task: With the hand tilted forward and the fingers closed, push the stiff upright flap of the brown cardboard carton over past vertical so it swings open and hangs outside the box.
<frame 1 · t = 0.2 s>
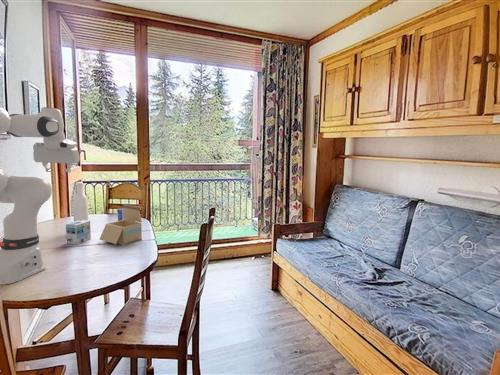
hand: (58, 172, 148), 39 cm above the table, tool pointing down, fingers open, 8 cm apart
light bulb box: (79, 241, 167), on the table
ink cartridge box: (126, 227, 199), on the table
flap: (131, 213, 175), point 14 cm above the table, hinge at 78.0°
carton: (124, 239, 173), on the table
bottle: (81, 231, 185), on the table
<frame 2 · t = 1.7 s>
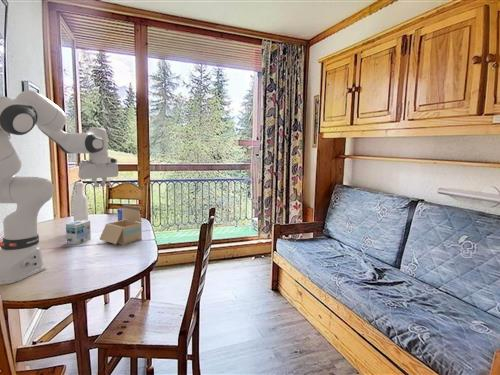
hand: (99, 186, 158), 31 cm above the table, tool pointing down, fingers closed
nothing on the table moved.
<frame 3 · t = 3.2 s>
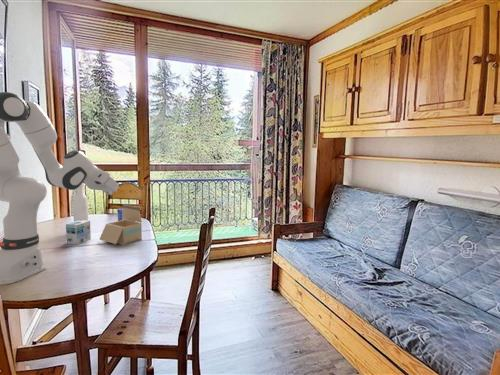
hand: (110, 193, 163), 27 cm above the table, tool tilted 45°, fingers closed
nothing on the table moved.
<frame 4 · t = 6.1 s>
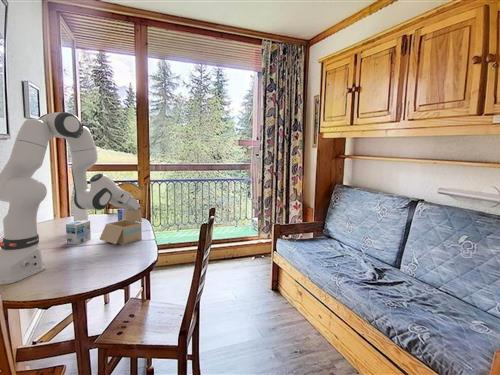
hand: (131, 210, 175), 16 cm above the table, tool tilted 45°, fingers closed, pressing on flap
flap: (133, 213, 176), point 14 cm above the table, hinge at 88.8°, touching gripper
everything else where it was.
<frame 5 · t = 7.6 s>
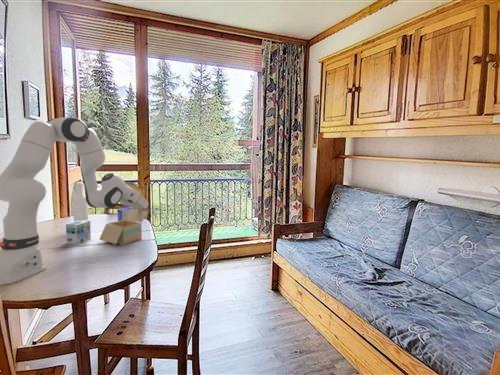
hand: (140, 209, 181), 15 cm above the table, tool tilted 45°, fingers closed, pressing on flap
flap: (137, 214, 179), point 13 cm above the table, hinge at 133.9°, touching gripper
everything else where it was.
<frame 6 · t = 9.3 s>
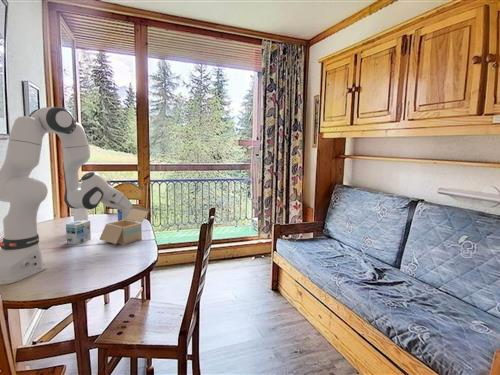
hand: (124, 211, 170), 16 cm above the table, tool tilted 45°, fingers closed
flap: (137, 214, 179), point 13 cm above the table, hinge at 134.0°
everything else where it was.
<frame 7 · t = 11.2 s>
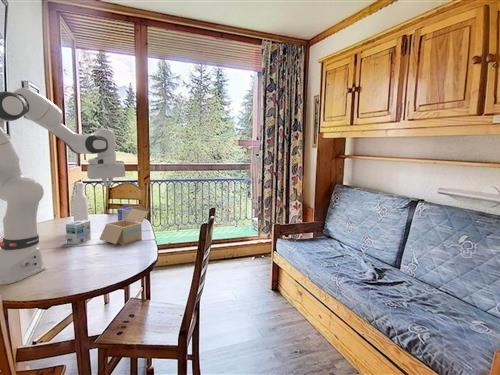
hand: (107, 186, 162), 31 cm above the table, tool pointing down, fingers closed
nothing on the table moved.
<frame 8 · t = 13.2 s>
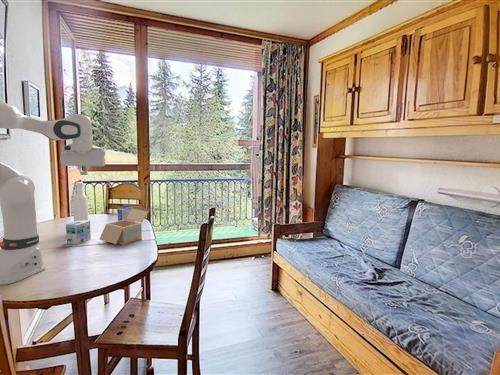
hand: (83, 174, 156), 37 cm above the table, tool pointing down, fingers closed
nothing on the table moved.
at the end: flap at +134° (first picture: +78°) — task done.
